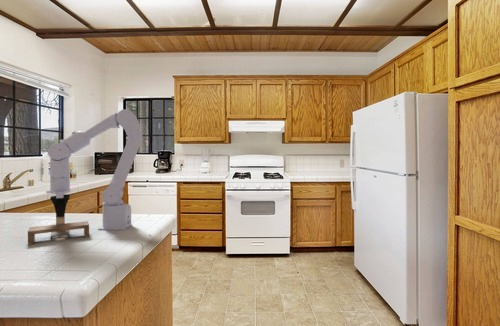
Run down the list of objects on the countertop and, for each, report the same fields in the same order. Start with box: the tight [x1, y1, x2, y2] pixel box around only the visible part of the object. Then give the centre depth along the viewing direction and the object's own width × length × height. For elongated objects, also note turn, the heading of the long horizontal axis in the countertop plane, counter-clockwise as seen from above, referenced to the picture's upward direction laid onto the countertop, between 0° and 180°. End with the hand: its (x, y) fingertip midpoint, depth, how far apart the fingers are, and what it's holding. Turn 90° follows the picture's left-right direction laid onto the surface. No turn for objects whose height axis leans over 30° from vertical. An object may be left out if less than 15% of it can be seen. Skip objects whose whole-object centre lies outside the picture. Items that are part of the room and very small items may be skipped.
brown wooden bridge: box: [27, 220, 90, 246], centre depth 92 cm, size 16×6×4 cm, turn 123°
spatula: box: [50, 214, 70, 240], centre depth 98 cm, size 12×5×9 cm, turn 33°
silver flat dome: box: [51, 235, 68, 242], centre depth 91 cm, size 4×4×1 cm
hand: (60, 215), depth 101 cm, fingers closed on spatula
